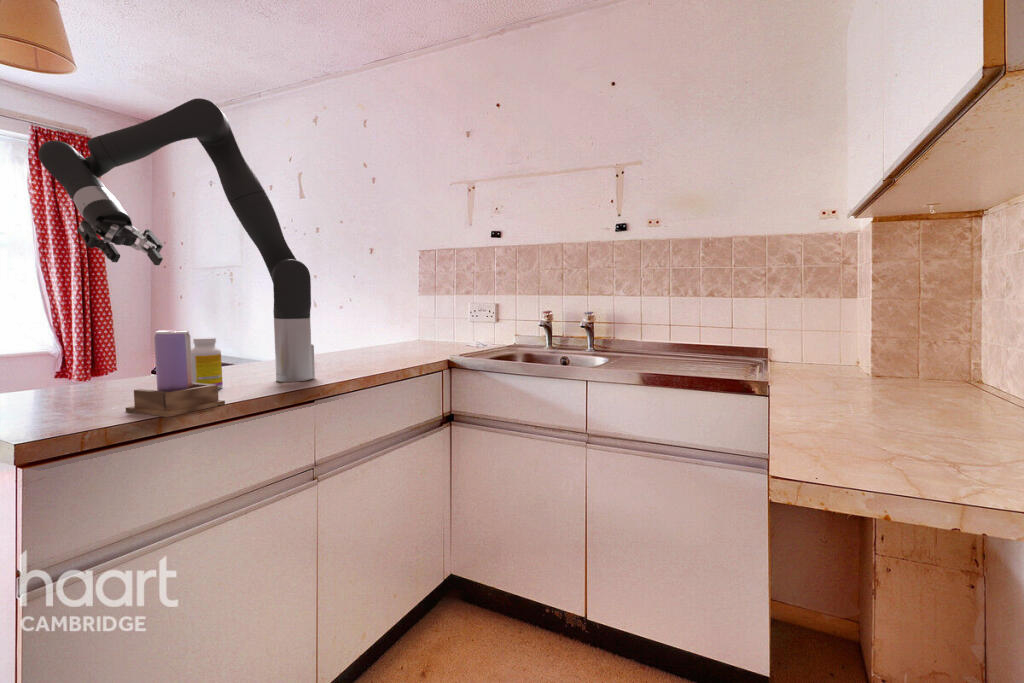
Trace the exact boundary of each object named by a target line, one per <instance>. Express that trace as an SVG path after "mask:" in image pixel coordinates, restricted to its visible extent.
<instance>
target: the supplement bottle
mask: <svg viewBox="0 0 1024 683" xmlns="http://www.w3.org/2000/svg"><path fill="white" fill-rule="evenodd" d="M192 342H193V344H194V348H191V362H192V382H193V383H203V384H215V385H218V390H221V389H222V388H223V386H224V385H223V384H224V383H223V382H224V381H223V368H222V367H223V366H222V364H223V363H222V351H221V349H220V348H219V347H216V343H217V338H216V337H194V338H193V340H192Z"/></svg>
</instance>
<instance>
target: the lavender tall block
mask: <svg viewBox="0 0 1024 683" xmlns="http://www.w3.org/2000/svg"><path fill="white" fill-rule="evenodd" d="M154 333H155V334H154V337H153V338H154V340H153V341H154V356H155V359H154V360H155V373H156V376H155V377H156V391H164V392H172V391H178V390H184V389H190V388H193V382H192V362H191V350H192V346H191V335H190V332H189V330H187V329H186V330H184V329H183V330H181V329H179V330H178V329H176V330H175V329H174V330H158V331H155V332H154Z"/></svg>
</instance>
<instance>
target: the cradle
mask: <svg viewBox="0 0 1024 683" xmlns="http://www.w3.org/2000/svg"><path fill="white" fill-rule="evenodd" d="M133 399H134V400H133V401H134V403H133V404H134V405H133V406H128V407H125V412H126V411H128V412H127V413H133V412H135V414H140V413H141V414H142V415H148V414H149V415H150V416H156V415H159V416H158V417H162V418H163V417H164V418H168V417H172V416H178V415H182V414H187V413H192V412H195V411H201V410H205V409H210V408H215V407H218V405H220V406H223V404H224V405H225V404H226V401H225V400H224V399H223V400H221V399H219V389H218V385H215V384H203V383H193V388H190V389H184V390H178V391H172V392H164V391H157V390H153V389H144V388H137V389H133Z"/></svg>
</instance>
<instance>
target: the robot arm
mask: <svg viewBox="0 0 1024 683" xmlns="http://www.w3.org/2000/svg"><path fill="white" fill-rule="evenodd" d="M191 139H197V141H198V142H199V143H200V144H201V146H202V147H203V149H204V150H205V151H206V153H207V155H208V157H209V158H210V160H211V162H212V163H213V165H214V166H215V169H216V172H217V174H218V175H217V176H218V177H219V180H220V185H221V186H222V190H223V192H224V194H225V197H226V199H227V201H228V203H229V205H230V206H231V209H232V210H233V212H234V214H235V216H236V217H237V219H238V221H239V222H240V225H241V226H242V227H243V229H244V230H245V232H246V234H247V235H248V236H249V238H250V239H251V241H252V242H253V243H254V246H255V248H257V249H258V252H259V253H260V256H261V257H262V259H263V262H264V264H265V266H266V268H267V271H268V273H269V276H270V279H271V281H272V285H273V287H272V288H273V330H274V353H275V354H274V356H275V359H274V362H275V381H276V382H279V383H280V382H281V383H291V382H292V383H293V382H294V383H295V382H296V383H298V382H303V381H304V382H306V381H310V380H312V379H314V378H316V375H315V374H316V372H315V346H314V344H312V335H311V334H312V332H311V331H312V329H311V327H312V326H311V325H312V324H311V308H312V279H311V273H310V271H309V269H308V267H307V265H306V264H304V263H303V262H301V260H297V258H296V257H295V255H294V253H293V252H292V250H291V249H290V247H289V246H288V243H287V240H286V239H285V237H284V233H283V230H282V227H281V224H280V221H279V218H278V216H277V213H276V211H275V209H274V206H273V203H272V202H271V200H270V199H269V196H268V194H267V192H266V190H265V189H264V187H263V184H262V183H261V181H259V179H258V177H257V176H256V174H255V173H254V171H253V170H252V168H251V167H250V165H249V163H248V162H247V161H246V159H245V157H244V155H243V154H242V152H241V150H240V148H239V145H238V143H237V140H236V137H235V136H234V133H233V130H232V127H231V125H230V122H229V119H228V118H227V116H226V114H225V113H224V112H223V111H222V110H221V109H220V107H219V106H218V105H217V104H215V103H214V102H212V101H211V100H209V99H205V98H200V97H199V98H192V99H190V100H187V101H186V102H184V103H182V104H180V105H178V106H176V107H174V108H172V109H170V110H168V111H166V112H164V113H161V114H159V115H158V116H155V117H153V118H150V119H148V120H145V121H143V122H139V123H137V124H133V125H130V126H127V127H124V128H121V129H117V130H114V131H110V132H107V133H104V134H101V135H98V136H95V137H91V138H90V139H88V140H87V147H88V150H89V152H90V153H91V154H90V155H89V156H87V157H84V156H83V155H82V154H81V153H80V152H78V150H76V148H74V147H73V146H72V145H70V144H69V143H67V142H64V141H61V140H47V141H46V142H44V143H43V144H41V145H40V147H39V149H38V152H37V154H38V159H39V161H40V163H41V165H42V166H43V167H44V168H45V169H46V170H47V171H48V173H49V174H51V176H52V177H53V179H54V178H55V180H56V181H57V182H58V183H59V184H60V185H61V186H62V187H63V189H64V190H65V191H66V193H67V195H68V197H70V199H71V200H72V202H73V203H74V205H75V207H76V209H77V211H78V213H79V214H80V215H81V217H82V218H83V219H84V220H81V222H80V224H79V226H78V228H77V231H78V233H79V235H80V237H81V239H82V240H83V242H84V243H85V245H86V246H87V247H88V248H90V249H94V248H98V250H99V251H101V252H102V253H103V254H104V255H105V256H106V258H107V259H108V260H110V261H111V263H118V262H119V260H120V258H121V254H120V253H119V251H118V250H117V248H116V247H115V246H114V245H116V246H126V247H130V248H133V249H134V250H136V251H142V252H143V253H145V254H147V257H148V258H149V260H150V261H151V262H152V264H153V265H154V266H160V265H161V263H162V261H163V260H164V258H163V256H162V255H161V254H160V252H161V250H162V249H163V248H164V244H163V243H162V241H160V240H159V238H158V237H157V236H156V235H155V234H154V232H153V231H152V230H151V229H148V228H145V230H144V231H142V230H139V229H137V228H136V227H134V226H133V221H132V219H131V217H130V216H129V214H128V213H127V212H126V210H125V209H124V208H123V206H122V205H121V203H120V201H118V200H117V198H116V197H115V196H114V195H113V193H111V192H110V191H109V190H108V188H107V187H106V185H105V184H104V183H103V181H102V180H100V178H101V177H102V176H104V175H106V174H107V173H109V172H110V171H111V170H113V169H115V168H117V167H120V166H123V165H127V164H129V163H134V162H136V161H139V160H140V159H141V160H142V159H144V158H146V157H148V156H150V155H151V154H153V153H156V152H157V151H158V150H160V149H162V148H164V147H165V146H169V145H170V144H172V143H173V144H174V143H176V142H181V141H184V140H191ZM99 237H101V238H102V239H100V238H99ZM137 240H139V242H138V244H137V243H136V242H137ZM145 245H146V246H147V247H148V248H147V247H145Z"/></svg>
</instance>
